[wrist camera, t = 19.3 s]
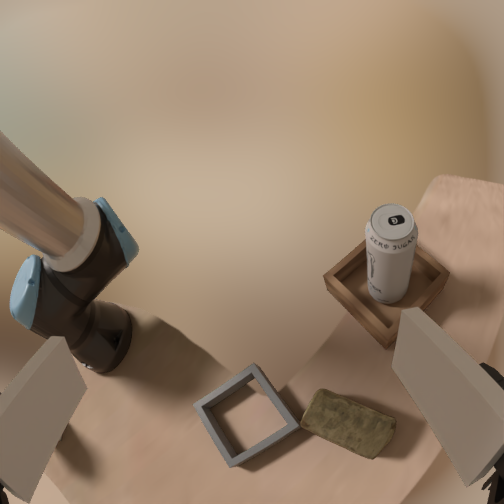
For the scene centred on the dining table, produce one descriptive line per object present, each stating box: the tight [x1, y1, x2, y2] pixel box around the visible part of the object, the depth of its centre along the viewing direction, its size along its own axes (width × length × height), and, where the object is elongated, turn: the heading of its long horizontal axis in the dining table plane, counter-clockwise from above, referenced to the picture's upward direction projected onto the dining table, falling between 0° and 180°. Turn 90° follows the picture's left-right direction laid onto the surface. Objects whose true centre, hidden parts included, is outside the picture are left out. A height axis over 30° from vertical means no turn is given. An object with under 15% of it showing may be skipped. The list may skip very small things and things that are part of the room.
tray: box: [193, 363, 301, 468], centre depth 35 cm, size 11×11×2 cm
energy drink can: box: [365, 204, 418, 304], centre depth 33 cm, size 6×6×15 cm
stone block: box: [300, 389, 396, 460], centre depth 29 cm, size 6×12×5 cm, turn 57°
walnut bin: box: [323, 239, 450, 350], centre depth 38 cm, size 13×13×4 cm
